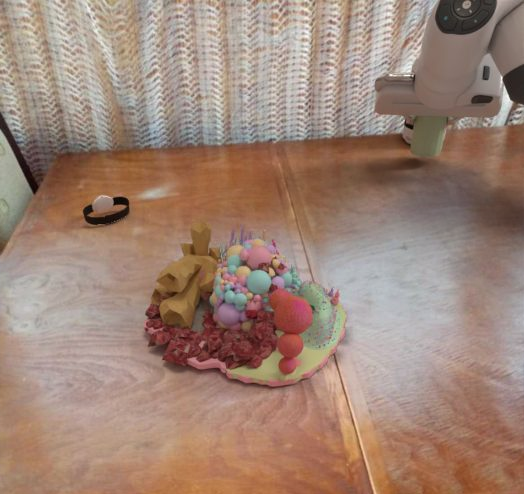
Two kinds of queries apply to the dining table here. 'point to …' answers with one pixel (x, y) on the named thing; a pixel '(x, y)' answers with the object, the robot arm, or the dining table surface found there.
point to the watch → (105, 209)
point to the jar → (428, 135)
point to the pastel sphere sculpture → (243, 312)
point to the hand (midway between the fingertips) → (430, 120)
